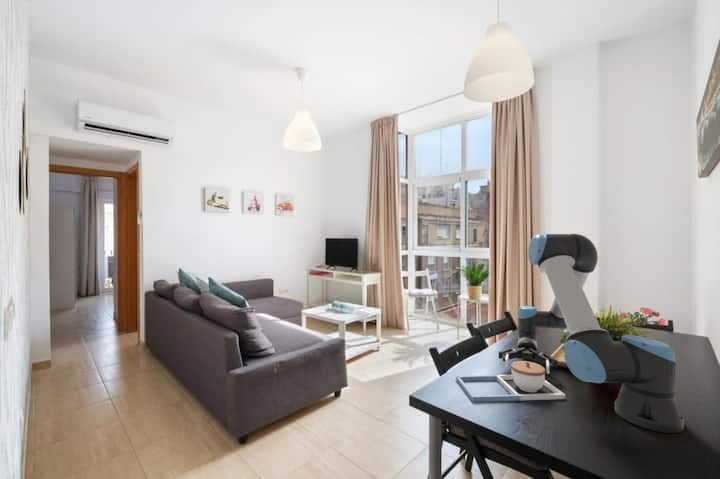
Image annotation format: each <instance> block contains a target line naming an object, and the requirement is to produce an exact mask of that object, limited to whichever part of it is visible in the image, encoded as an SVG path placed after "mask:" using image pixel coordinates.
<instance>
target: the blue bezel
mask: <svg viewBox="0 0 720 479" xmlns="http://www.w3.org/2000/svg"><path fill="white" fill-rule="evenodd" d="M497 375H498V374H477V375H456V376H455V381H456V382H457V383H458V385H459V386H460V387H461V389H462V390H463V391H464V393H466V395H467V397H468V398H469V399H470V401H471V402H472V403H478V402H479V403H481V402H506V401H508V402H509V401H510V402H511V401H512V402H513V401H519V400H518V396H519V395H518V394H519V393H518V394H513V395H511V394H487V395H481V394H480V395H475V394H474V393H473V392H472V391H471V390H470V388H469V387H468V385H466V383H465V382H472V381H473V382H474V381H475V382H476V381H477V382H478V381H479V382H480V381H497V377H496V376H497Z"/></svg>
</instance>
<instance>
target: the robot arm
mask: <svg viewBox="0 0 720 479" xmlns="http://www.w3.org/2000/svg"><path fill="white" fill-rule="evenodd" d="M527 254H528V261H529V262H530V264H531V265H533V266H538V268H539V271H540V272H541V273H543V274H545V275H546V276H547V279H548V281H549V284H550V286H551V290H552V292H553V294H554V300H553V301H552V305H551V307H550V310H549V311H545V310H543V311H540V310H538V308H537V307H535V306H531V305H521V306H519V307H518V313H517V319H518V320H517V324H518V325H517V326H518V330H517V331H518V332H517V333H518V334H517V335H518V336H517V338H518V340H517V347H516V348H515V349H514V348H513V347H512V346H508V348H505V349H502V350H499V351H498V359H501V360H502V362H505V363H504V367H506V368H508V367H509V366H508V365H509V360H512V359H518V360H520V359H523V360H524V361H534V362H539V363H541V364H542V365H545V367H546V369H545V370H546V374H550V370H553V369H554V368H558V366H559V365H558V360H557V358H555V357H552V356H551V355H550V354H549V353H547V352H546V351H542V352H539V351H538V329H553V330H556V329H557V330H566V329H567V330H568V333H569V334H568V336H567V337H566V342H565V343H564V344H563V345H564V346H563V350H562V351H563V353H564V354H563V357H564V360H565V364H566V365H567V367H568V369H569V371H570V372H571V373H572V374H573V375H574V376H575V378H578V379H579V380H580V381H583V382H587V383H594V384H603V383H604V384H607V383H608V384H621V388H620V390H619V393H618V394H617V398H616V399H615V401H614V411H615V413H616V414H617V415H618V416H619V417H620V418H622V419H623V420H625V421H626V422H628V423H631V424H633V425H635V426H638V427H640V428H644V429H647V430H650V431H655V432H660V433H666V434H667V433H668V434H677V433H681V432H683V431H684V429H685V420H684V416H683V415H682V414H681V411H680V407H679V405H678V403H677V400H676V363H677V360H676V355H675V350H674V348H673V347H672V346H671V345H669V344H667V343H666V342H663V341H661V340H660V341H659V340H656V339H652V338H649V337H645V336H639V335H633V334H623V335H621V338H620V339H621V341H620V340H618V341H617V340H616V341H614V340H613V338H612V336H611V334H610V332H609V331H608V330H606V329H604V328H601V325H600V324H599V322H598V320H597V317H596V315H595V313H594V311H593V308H592V306H591V305H590V302H589V300H588V298H587V296H586V293H585V291H584V289H583V288H584V285H585V283H586V281H587V279H588V277H589V274H591V273H593V272H594V270H595V268H596V266H597V263H598V251H597V247H596V246H595V244H594V243H593V241H592V240H591V239H589V238H588V237H587V236H585V235H582V234H578V233H548V234H547V233H543V234H536V235H534V236H533V237H532V238H530V242H529V246H528V253H527Z"/></svg>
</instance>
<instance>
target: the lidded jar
mask: <svg viewBox="0 0 720 479" xmlns="http://www.w3.org/2000/svg"><path fill="white" fill-rule="evenodd" d="M510 367H511V374H512V377H513V382H514V384H516V385H515V386H517V388H518V389H519V390H521V391H523V392H526V393H538V391H539V390H541V388H542V387H543V386H544V385H543V384H544V380H546V379H545V378H546V369H545V367H544V366H542V364H539V363H536V362H533V361H529V360H516V361H513V362H512V363H511V364H510Z"/></svg>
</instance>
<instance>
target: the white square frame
mask: <svg viewBox="0 0 720 479" xmlns="http://www.w3.org/2000/svg"><path fill="white" fill-rule="evenodd" d="M496 375H497V376H496V377H497V380H496V381H497V382H498V383H499V384H500V385H501V386H502V387H503V388H504V389H505V390H506V391H507V392H508V393H509V395H513V394H518V395H519V396H518V400H517V401H538V400H539V401H541V400H542V401H544V400H566V394H565V393H564V392H562V391H561V390H560V389H559V388H557V387H556V386H554V384H552V383H550V382H548V381H547V380H546V379H545V380H544V384H543V386H545V387H546V388H547V389H548V390H549V391H551V392H552V393H550V392H549V393H521V394H520V393H518V392H517V391H516V390H515V389H514V388H513V387H512V386H511V385H510V384H508V383H507V382H506V381H509V380H511V381H512V380H513V377H512V373H511V374H496ZM513 381H514V380H513Z"/></svg>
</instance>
